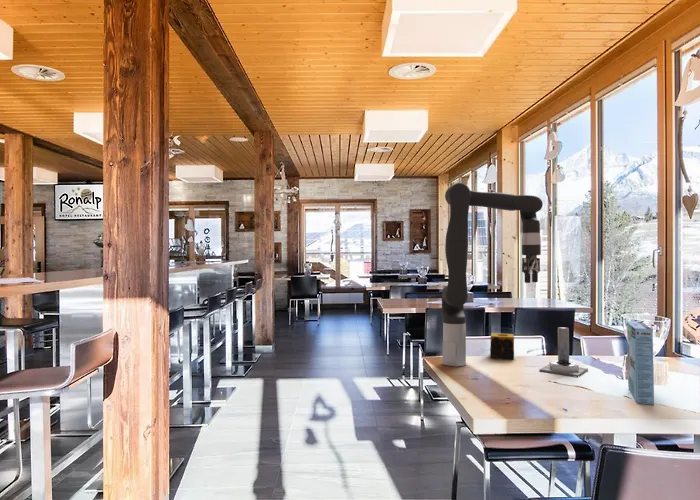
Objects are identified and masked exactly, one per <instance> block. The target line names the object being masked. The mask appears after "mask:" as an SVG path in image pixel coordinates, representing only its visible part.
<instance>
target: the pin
mask: <svg viewBox="0 0 700 500" xmlns="http://www.w3.org/2000/svg"><path fill="white" fill-rule="evenodd" d="M557 361H558V364H562V365H569V362H570V328H569V327H566V326H565V327H561V326H559V327H557Z"/></svg>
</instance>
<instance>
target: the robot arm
mask: <svg viewBox="0 0 700 500" xmlns="http://www.w3.org/2000/svg"><path fill="white" fill-rule="evenodd" d="M444 198H445V201H446V203H447V204H448V205H449V206H450V209H449V210H450V211H449V212H450V215H449V222H448V225H447V230H446V232H445V234H446V235H445V243H444V244H445V247H444V248H445V251H444V254H445V260H446V265H447V273H448V279H447V285H446V286H445V287H444V288H443V290H442V292H441V315H442V320H443V321H442V324H443V325H442V326H443V327H442V329H443V331H442V332H443V334H442V335H443V337H442V365H443V366H449V367H455V368H456V367H463V366H466V364H467V360H466V359H467V349H466V348H467V347H466V345H467V340H466V339H467V338H466V336H467V333H466V331H467V330H466V329H467V324H466V323H467V319H466V318H467V317H466V315H465V310H464V307H465V306H464V305H465V304H466V303H467V301H468V284H467V281H468V280H467V269H468V267H467V266H468V253H469V210H470V207H480V208H481V207H482V208H488V209H489V208H490V209H494V210H495V209H496V210H501V211H510V212H511V211H512V212H513V211H519V213H520V218H521V223H522V229H521V230H522V231H521V233H522V234H521V255H522V256H525V257H522V258H521V272H522V273H523V274H524V283H526V284H530V283H531V282H532V283H538V282H539V280H538V279H539V277H538V276H539V273H540V272H541V259H540V257H537V256H541V253H542V252H541V251H542V250H541V249H542V248H541V247H542V245H541V244H542V239H541V238H542V237H541V223H540V220H539V219H538V218H537V213H539V211H541V210H542V208H543V205H544V204H543V200H542V199H541V198H540V197H539V196H536V195H530V194H528V195H527V194H513V193H507V192H499V191H498V192H496V191H492V192H491V191H490V192H489V191H488V192H485V191H475V190H471V189H470V187H469V186H468V185H467V184H465V183H463V182H457V183H455V184H453V185H451V186H450V187H448V188H447V190H446V191H445V194H444Z"/></svg>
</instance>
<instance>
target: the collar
mask: <svg viewBox="0 0 700 500" xmlns="http://www.w3.org/2000/svg"><path fill="white" fill-rule="evenodd" d="M548 363H549V364H547V365H545V366H543V367H541V368H538V369H539V371H538V372H542V373H549V374H555V375H561V376H567V377H573V376H577V377H576V378H579V377H580V376H582V375H583V374H585V373H586V371H587V372H588V371H589V368H587V367H580V366H579V364H578V363H576V362H574V361H569V365H562V364H558V360H549V362H548ZM584 372H585V373H584ZM581 374H582V375H581ZM578 376H579V377H578Z"/></svg>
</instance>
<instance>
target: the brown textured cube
mask: <svg viewBox="0 0 700 500" xmlns="http://www.w3.org/2000/svg"><path fill="white" fill-rule="evenodd" d="M489 349H490V350H489V353H490V354H489V358H490V359H495V360H511V361H514V360H515V335H514V333H513V334H512V333H500V332H499V333H498V332H497V333H496V332H494V333H493V332H491V333H490V348H489Z"/></svg>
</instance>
